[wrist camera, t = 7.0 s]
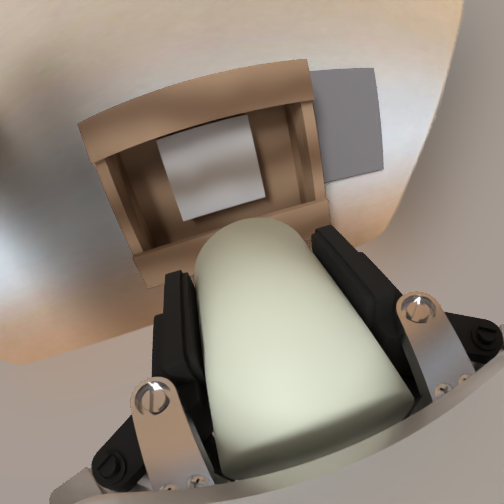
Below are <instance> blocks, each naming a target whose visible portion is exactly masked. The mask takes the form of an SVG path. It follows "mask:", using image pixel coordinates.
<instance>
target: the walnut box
mask: <svg viewBox="0 0 504 504" xmlns="http://www.w3.org/2000/svg"><path fill="white" fill-rule="evenodd" d="M312 100H315V98H314V92H313V87H312V82H311V77H310V72H309V67H308V62H307V59H299V60H289V61H281V62H274V63H267V64H261V65H255V66H249V67H244V68H238V69H233V70H229V71H224V72H220V73H215V74H211V75H207V76H203V77H199V78H196V79H192V80H188V81H185V82H182V83H178V84H175V85H172V86H168V87H165V88H162V89H159V90H156V91H153V92H151V93H148V94H145V95H142V96H140V97H137V98H134V99H132V100H129V101H127V102H124V103H122V104H119V105H117V106H114V107H112V108H110V109H107V110H105V111H103V112H101V113H98V114H96V115H94V116H92V117H90V118H88V119H86V120H84V121H82V122H80V123H78V127H79V130H80V133H81V136H82V139H83V142H84V145H85V148H86V150H87V153H88V156H89V159H90V162H91V164H92V163H94V165H95V167H96V170H97V173H98V175H99V178H100V180H101V183H102V185H103V188H104V190H105V193H106V195H107V198H108V200H109V202H110V205H111V207H112V210H113V212H114V214H115V216H116V219H117V221H118V223H119V225H120V228H121V230H122V232H123V234H124V236H125V238H126V241H127V243H128V245H129V247H130V249H131V251H132V253H133V261H134V263H135V265H136V266H137V268H138V270H139V272H140V274H141V276H142V278H143V280H144V282H145V284H146V286H147V287H148V289H150V288H153V287H156V286H160V285H163V284H165V275H166V274H168V273H171V272H174V271H178V270H181V271H182V272H183V273H185V272H188V273H189V276H193V275H194V268H195V263H196V260H197V257H198V254H199V252H200V251H201V249H202V247H203V246H204V244H205V243H206V242H207V241H208V240H209V239H210V237H211V236H213V235H214V234H215V233H216V232H217V231H219V230H220V229H222V228H224V227H225V226H227V225H229V224H231V223H234V222H237V221H239V220H243V219H248V218H270V219H275V220H278V221H281V222H283V223H285V224H287V225H289V226H290V227H292V228H293V229H294V230H295V231H296V232H297V233H298V234H299V235H300V236H301V238H302V239H303V240H304V241H308V240H311V235H312V234H314V233H315V229H316V228H320V227H323V226H327V225H331V222H330V210H329V200H328V199H327V198H326V196H325V187H324V178H323V170H322V162H321V155H320V147H319V141H318V134H317V127H316V121H315V115H314V109H313V104H312Z"/></svg>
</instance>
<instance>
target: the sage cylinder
mask: <svg viewBox="0 0 504 504" xmlns="http://www.w3.org/2000/svg"><path fill="white" fill-rule="evenodd" d="M194 278H195V290H196V301H197V311H198V321H199V330H200V339H201V347H202V355H203V363H204V371H205V378H206V385H207V392H208V399H209V405H210V411H211V418H212V423H213V429H214V435H215V441H216V446H217V451H218V457H219V462H220V467H221V471H222V474H223V475H225V476H226V477H228V478H231V479H234V480H245V479H250V478H254V477H259V476H263V475H267V474H271V473H274V472H278V471H282V470H285V469H289V468H292V467H295V466H298V465H302V464H305V463H308V462H311V461H314V460H316V459H319V458H322V457H325V456H327V455H330V454H333V453H335V452H338V451H340V450H343V449H345V448H347V447H350V446H352V445H354V444H357V443H359V442H361V441H363V440H366V439H368V438H370V437H372V436H374V435H376V434H378V433H380V432H382V431H384V430H386V429H388V428H390V427H392V426H394V425H396V424H397V423H399V422H400V421H401V420H402V419H403V418H404V417H405V416H406V415H407V413H408V412H409V411H410V409H411V407H412V406H413V403H414V397H413V395H412V394H411V392H410V390H409V389H408V387H407V386H406V384H405V383H404V381H403V379H402V378H401V376H400V375H399V373H398V372H397V370H396V369H395V367H394V366H393V364H392V363H391V361H390V360H389V358H388V357H387V355H386V354H385V352H384V351H383V349H382V348H381V346H380V345H379V343H378V342H377V340H376V339H375V338H374V336H373V335H372V333H371V332H370V330H369V329H368V327H367V326H366V325H365V323H364V322H363V320H362V319H361V317H360V316H359V315H358V313H357V312H356V310H355V309H354V308H353V306H352V305H351V303H350V302H349V301H348V299H347V298H346V296H345V295H344V294H343V292H342V291H341V289H340V288H339V287H338V285H337V284H336V283H335V281H334V280H333V279H332V277H331V276H330V275H329V273H328V272H327V270H326V269H325V268H324V266H323V265H322V264H321V262H320V261H319V260H318V258H317V257H316V256H315V255H314V253H313V252H312V251H311V249H310V248H309V247H308V245H307V244H306V243H305V241H304V240H303V239H302V238H301V236H300V235H299V234H298V233H297V232H296V231H295V230H294V229H293V228H292V227H290V226H289V225H287V224H285V223H283V222H281V221H278V220H275V219H270V218H248V219H243V220H239V221H237V222H234V223H231V224H229V225H227V226H225V227H224V228H222V229H220V230H219V231H217V232H216V233H215V234H214V235H213V236H211V237H210V239H209V240H208V241H207V242H206V243H205V244H204V246H203V247H202V249H201V251H200V252H199V254H198V257H197V260H196V263H195V268H194Z"/></svg>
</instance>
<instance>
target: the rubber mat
mask: <svg viewBox="0 0 504 504" xmlns="http://www.w3.org/2000/svg"><path fill="white" fill-rule="evenodd" d="M309 72H310V77H311V82H312V87H313V92H314V98H315V100H312V104H313V109H314V115H315V121H316V127H317V134H318V141H319V147H320V155H321V162H322V170H323V178H324V183H326V182H330V181H334V180H338V179H342V178H346V177H350V176H355V175H359V174H363V173H368V172H372V171H377V170H381V169H384V167H383V147H382V133H381V121H380V111H379V102H378V94H377V87H376V80H375V74H374V68H353V69H333V70H320V71H309Z"/></svg>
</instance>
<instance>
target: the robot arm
mask: <svg viewBox="0 0 504 504" xmlns="http://www.w3.org/2000/svg"><path fill="white" fill-rule="evenodd" d="M311 241H312V250H313V253H314V255H315V256H316V257H317V258H318V260H319V261H320V262H321V264H322V265H323V266H324V268H325V269H326V270H327V272H328V273H329V275H330V276H331V277H332V279H333V280H334V281H335V283H336V284H337V285H338V287H339V288H340V289H341V291H342V292H343V294H344V295H345V296H346V298H347V299H348V301H349V302H350V303H351V305H352V306H353V308H354V309H355V310H356V312H357V313H358V315H359V316H360V317H361V319H362V320H363V322H364V323H365V325H366V326H367V327H368V329H369V330H370V332H371V333H372V335H373V336H374V338H375V339H376V340H377V342H378V343H379V345H380V346H381V348H382V349H383V351H384V352H385V354H386V355H387V357H388V358H389V360H390V361H391V363H392V364H393V366H394V367H395V369H396V370H397V372H398V373H399V375H400V376H401V378H402V379H403V381H404V383H405V384H406V386H407V387H408V389H409V390H410V392H411V394H412V395H413V397H414V403H413V406H412V407H411V409H410V411H409V412H408V413H407V415H406V416H405V417H404V418H403V419H402V420H401V421H400V422H399V423H397V424H396V425H394V426H392V427H390V428H388V429H386V430H384V431H382V432H380V433H378V434H376V435H374V436H372V437H370V438H368V439H366V440H363V441H361V442H359V443H357V444H354V445H352V446H350V447H347V448H345V449H343V450H340V451H338V452H335V453H333V454H330V455H327V456H325V457H322V458H319V459H316V460H314V461H311V462H308V463H305V464H302V465H298V466H295V467H292V468H289V469H285V470H282V471H278V472H274V473H271V474H267V475H263V476H259V477H254V478H250V479H245V480H240V481H239V480H234V479H231V478H228V477H226V476H225V475H223V474H222V471H221V467H220V462H219V457H218V451H217V446H216V441H215V435H214V429H213V423H212V418H211V411H210V405H209V399H208V392H207V385H206V378H205V371H204V363H203V355H202V347H201V339H200V330H199V321H198V311H197V301H196V290H195V287H194V285H193V283H192V280H191V278H190V276H189V273H188V272H185V273H183V272H182V271H181V270H178V271H174V272H171V273H168V274H166V275H165V286H164V310H163V314H159V315H156V316H155V317H154V327H153V349H152V377H151V378H148V379H146V380H144V381H142V382H141V383H140V384H139V385H137V386H136V388H135V389H134V391H133V392H132V395H131V398H130V408H131V412H132V415H131V416H130V417H129V418H128V419H127V420H126V421H125V423H124V424H123V425H122V426H121V427H120V428H119V429H118V430H117V431H116V432H115V434H113V436H112V437H111V438H110V439H109V440H108V441H107V442H106V443H105V445H103V446H102V447H101V449H100V450H99V451H98V452H97V453H96V455H95V456H94V458H93V461H92V467H91V468H90V469H89V468H87V467H85V468H84V469H83V470H81V471H80V472H79V473H77V474H76V475H75V476H73V477H72V478H70V479H69V480H68V481H66V482H65V483H63V484H62V485H61V486H59V487H58V488H56V489H55V490H54V491H53V492H52V493H51V495H50V504H504V325H500V327H498V326H497V325H496V324H494V323H493V322H491V321H489V320H486V319H480V318H475V317H469V316H464V315H458V314H453V313H448V312H444V311H443V309H442V308H441V306H440V304H439V303H438V301H437V300H436V299H435V298H434V297H432V296H431V295H429V294H427V293H424V292H417V291H416V292H409V293H407V294H404V295H402V294H401V293H400V291H399V290H398V289H397V288H396V287H395V286H394V285H393V284H392V283H391V281H390V280H388V278H387V277H386V276H385V275H384V274H383V273H382V272H381V271H380V270H379V269H378V268H377V266H376V265H375V264H374V263H373V262H372V261H371V260H370V259H369V258H368V257H367V256H366V255H365V254H364V253H362V252H358V251H357V250H356V249H355V248H354V247H353V246H352V245H351V244H350V243H349V242H348V241H347V240H346V239H345V238H344V237H343V236H342V235H341V234H340V233H339V232H338V231H337V230H336V229H335V228H334V227H333V226H332V225H327V226H323V227H320V228H316V229H315V233H314V234H312V235H311Z"/></svg>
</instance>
